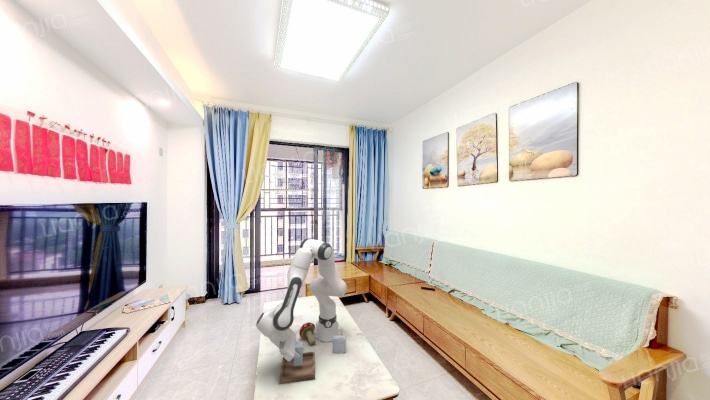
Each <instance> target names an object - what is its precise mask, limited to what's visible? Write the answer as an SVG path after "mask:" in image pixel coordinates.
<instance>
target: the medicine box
mask: <svg viewBox="0 0 710 400" xmlns="http://www.w3.org/2000/svg"><path fill="white" fill-rule="evenodd" d="M346 340H347V336H346V335H342V334H341V335H334V336H333V341H332V354H346V351H347V348H346V344H347V341H346Z"/></svg>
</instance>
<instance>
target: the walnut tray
mask: <svg viewBox="0 0 710 400" xmlns="http://www.w3.org/2000/svg"><path fill="white" fill-rule="evenodd" d="M314 380H316V355H315V351H309V352H303V361H302V365H300V366H294V358H293V359H292V360H291V361H287V360H286V359H285V358H284V357H283V356H282V361H281V366H280V372H279V377H278V385H284V384H291V383H298V382H300V383H301V382H304V381H305V382H307V381H314Z"/></svg>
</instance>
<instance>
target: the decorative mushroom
mask: <svg viewBox="0 0 710 400" xmlns="http://www.w3.org/2000/svg"><path fill="white" fill-rule="evenodd" d="M315 329H316V324H314V323H312V322H306V323H303V325H302V326H301V327H300V328H299V332H298V334H299V336H300V337H301V338H307V341H308V344H310V345H311V346H312V345H315V344H316V342H317V338H315V337H314V333H315Z"/></svg>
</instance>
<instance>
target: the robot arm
mask: <svg viewBox="0 0 710 400" xmlns="http://www.w3.org/2000/svg"><path fill="white" fill-rule="evenodd" d="M314 259H317V268H318V269H317V270H318V274H319V275H320V276H321V277H316V278H313V279H311V281H310V282H309V286H308V287H309V291H310V292H311V294H312V295H313V296H315V298H316V300H317V302H318V305H319V306H318V308H319V309H318V311H319V315H318V321H317V322H316V323H315V330H314V332H313V336H314V337H315V339H316V340H318V341H320V342H325V343H329V342H333V336H334V335H342V332H341V330H340V328H339V322H338V321H337V313H336V312H337V311H336V310H337V305H336V302H335V300H334V299H332V298H331V297H344V295H345V294H346V292H347V289H348V287H347V283H346V282H345V280H343V279H342V278H341V277H340V276H339V274H338V273H337V270H336V264H335V255H334V250H333V247H332V245H330V244H329V243H327V242H325V241H322V240H319V239H313V238H309V237H308V238H304V239H303V240H302V241H301V243H300V246H299V248H298V249H297V250H296V252H295V254H294V256H293V257H292V259H291V262H290V263H289V266H288V267H289V268H288V270H287V289H286V293H285V295H284V299H283V302H282V303H279V304H277V305H276V306H275V307H273V308H272V309H270V310H267V311H264V312H262V313H261V314H260V315H259V317H258V318H257V321H256V323H255V325H256V326H255V327H256V329H257V330H258V331H259V332H260V333H261V334H262V335H263V336H264V337H266V338H268V339H269V340H270V343H272V344H273V345H275V346H276V347H277V348H278V349H279V353H280V355H281V356H282V358H283V357H284V358H285V359H286V360H287V361H291V360H292V359H293V358H294V357H297V358H299V357H300V354H299V353H296V351H295V344H296V342H297V334H296V332H295V331H294V330H293V329H292V328H291V327H292V326H293V323H294V319H295V317H294V309H295V306H296V304H297V300H298V296H299V293H300V290H301V289H302V286H303V284H304V282H305V281H306V278H307V275H308V273H309V270H310V267H311V264H312V260H314Z"/></svg>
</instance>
